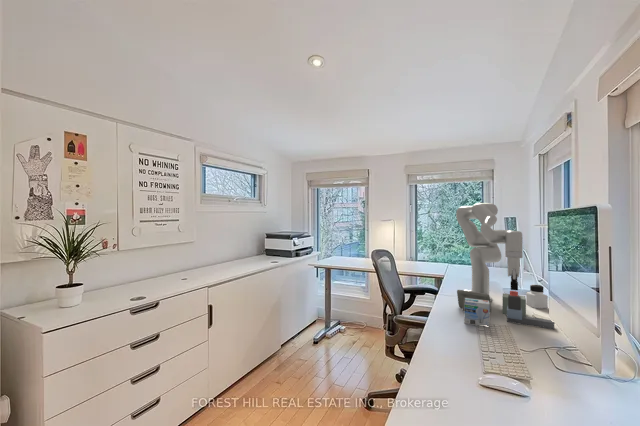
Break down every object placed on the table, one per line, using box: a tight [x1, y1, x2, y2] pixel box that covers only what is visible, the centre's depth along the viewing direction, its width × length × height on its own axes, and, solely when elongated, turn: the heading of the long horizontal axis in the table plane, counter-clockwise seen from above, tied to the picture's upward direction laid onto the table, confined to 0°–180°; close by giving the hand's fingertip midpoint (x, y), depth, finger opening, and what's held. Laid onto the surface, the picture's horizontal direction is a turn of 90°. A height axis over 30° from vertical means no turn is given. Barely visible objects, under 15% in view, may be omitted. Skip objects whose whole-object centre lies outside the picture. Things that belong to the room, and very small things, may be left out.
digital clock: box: [456, 289, 492, 313], centre depth 159 cm, size 16×9×11 cm, turn 37°
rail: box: [506, 315, 555, 331], centre depth 139 cm, size 18×4×3 cm, turn 57°
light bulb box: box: [463, 298, 491, 327], centre depth 141 cm, size 11×7×11 cm, turn 62°
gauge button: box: [509, 290, 519, 296], centre depth 154 cm, size 4×4×4 cm
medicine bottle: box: [525, 284, 549, 309], centre depth 167 cm, size 7×7×12 cm
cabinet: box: [502, 293, 527, 316], centre depth 154 cm, size 10×8×9 cm
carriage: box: [506, 295, 522, 320], centre depth 143 cm, size 6×7×10 cm
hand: (514, 289), depth 154 cm, fingers closed
